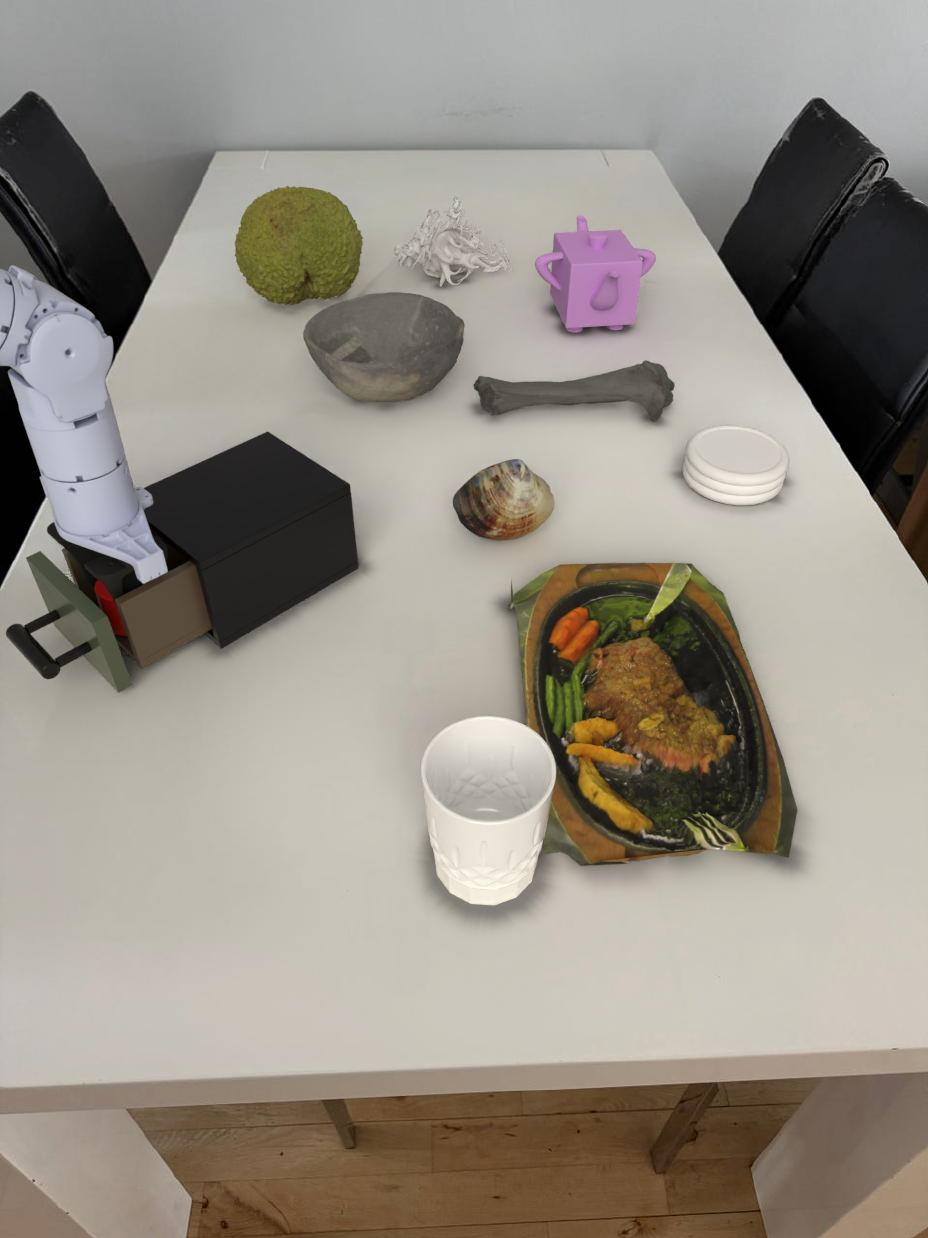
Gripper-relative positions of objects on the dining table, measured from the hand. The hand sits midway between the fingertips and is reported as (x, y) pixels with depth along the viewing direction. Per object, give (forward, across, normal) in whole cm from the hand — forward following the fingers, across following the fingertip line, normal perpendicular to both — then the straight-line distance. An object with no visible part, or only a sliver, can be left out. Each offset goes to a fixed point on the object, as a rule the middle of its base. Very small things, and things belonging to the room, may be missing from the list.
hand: (126, 606), depth 73 cm
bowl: (+3, +17, -42) cm, 46 cm away
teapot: (+2, +12, -73) cm, 74 cm away
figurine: (+2, +34, -69) cm, 77 cm away
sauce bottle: (+1, 0, 0) cm, 1 cm away
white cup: (+4, -35, -6) cm, 35 cm away
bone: (+2, -2, -53) cm, 53 cm away
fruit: (+2, +43, -51) cm, 67 cm away
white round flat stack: (+2, -22, -55) cm, 59 cm away
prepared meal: (+3, -34, -24) cm, 41 cm away
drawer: (+3, 0, 0) cm, 3 cm away
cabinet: (+3, 0, -12) cm, 12 cm away
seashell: (+3, -12, -32) cm, 34 cm away
